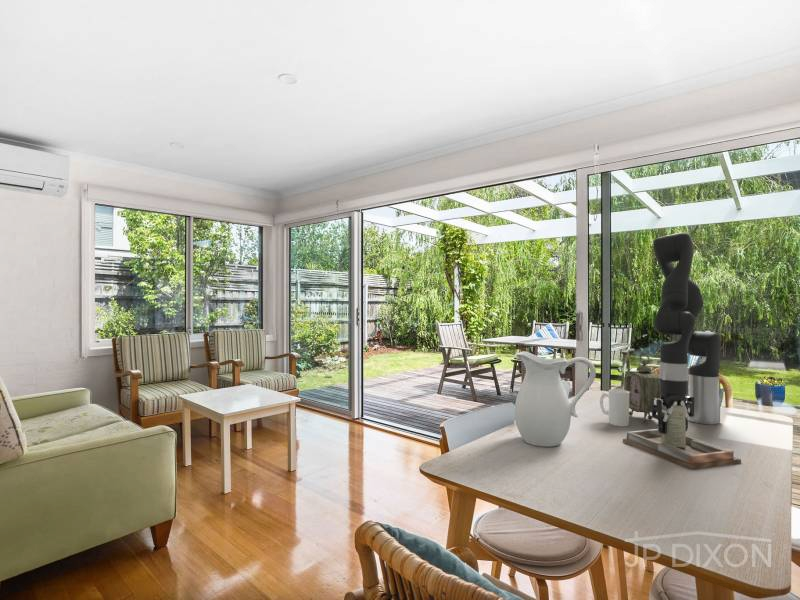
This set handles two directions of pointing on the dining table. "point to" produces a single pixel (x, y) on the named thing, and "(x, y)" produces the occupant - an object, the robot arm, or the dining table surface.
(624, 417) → the mug
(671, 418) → the skincare box
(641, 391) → the tabletop clock
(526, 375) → the pitcher
